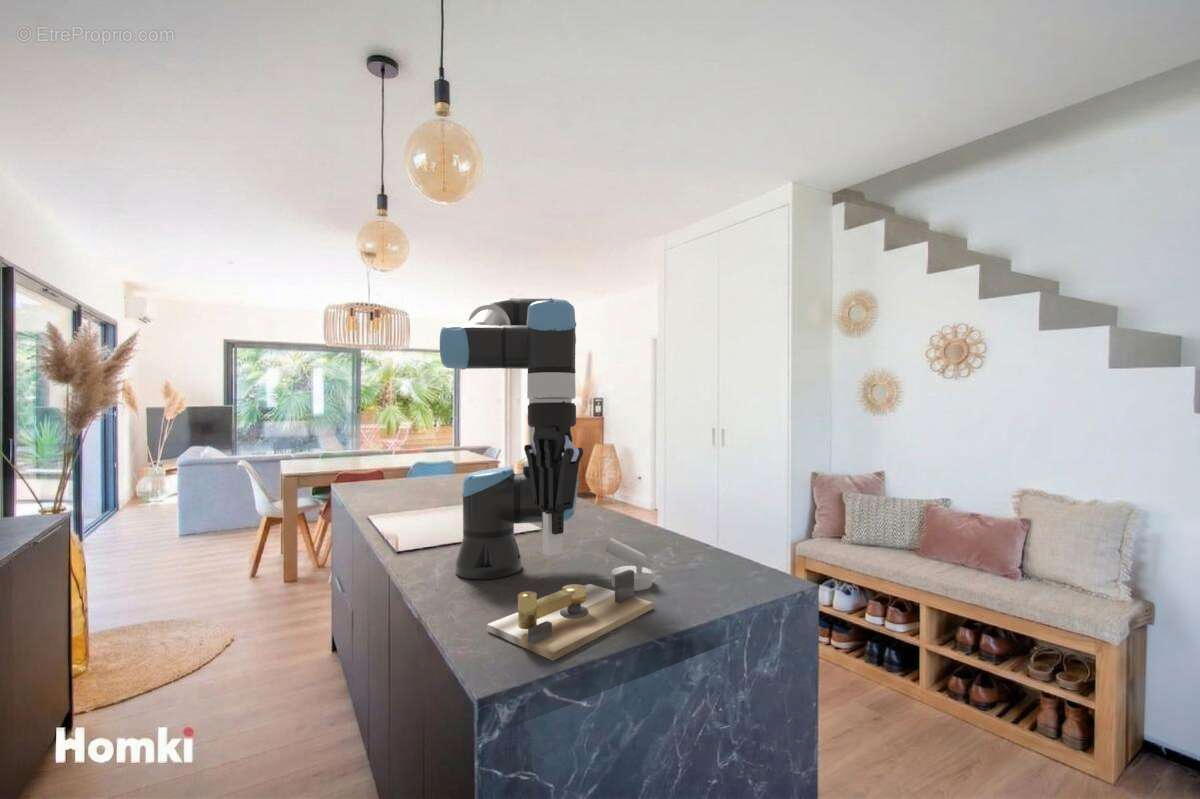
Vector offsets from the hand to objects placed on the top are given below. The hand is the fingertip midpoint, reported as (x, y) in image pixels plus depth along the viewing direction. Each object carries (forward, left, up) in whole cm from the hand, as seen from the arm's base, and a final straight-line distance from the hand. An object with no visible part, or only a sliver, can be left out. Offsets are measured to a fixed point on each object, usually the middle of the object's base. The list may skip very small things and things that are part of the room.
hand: (552, 553), depth 81 cm
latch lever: (-6, +6, -13) cm, 15 cm away
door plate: (-6, +11, -15) cm, 20 cm away
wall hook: (-10, +32, -16) cm, 37 cm away
